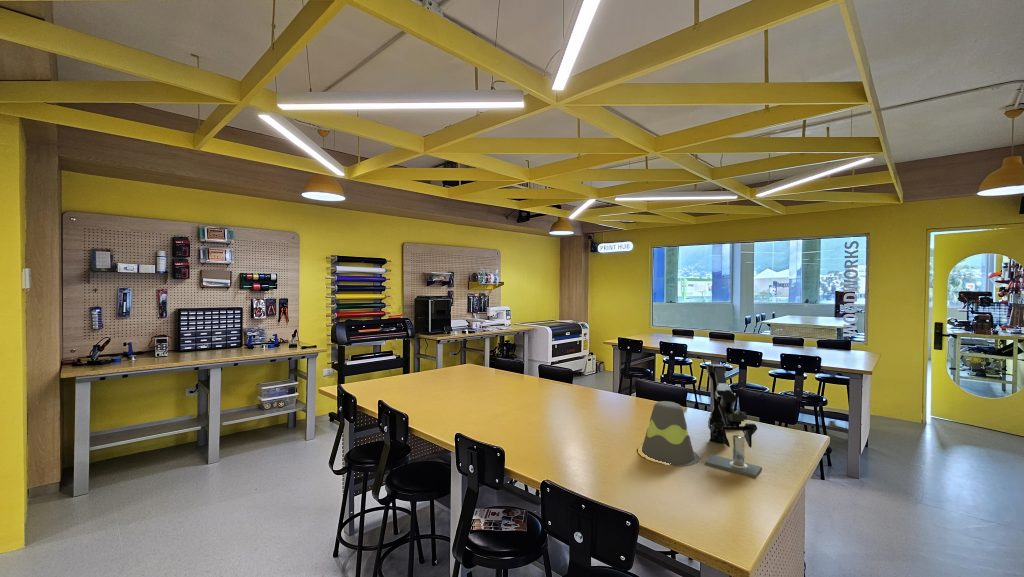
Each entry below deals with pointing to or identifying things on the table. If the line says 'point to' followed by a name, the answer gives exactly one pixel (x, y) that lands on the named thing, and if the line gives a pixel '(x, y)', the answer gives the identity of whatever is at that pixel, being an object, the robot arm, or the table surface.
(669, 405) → the grey tapered cylinder
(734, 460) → the metal pin
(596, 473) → the table surface
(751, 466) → the mat
